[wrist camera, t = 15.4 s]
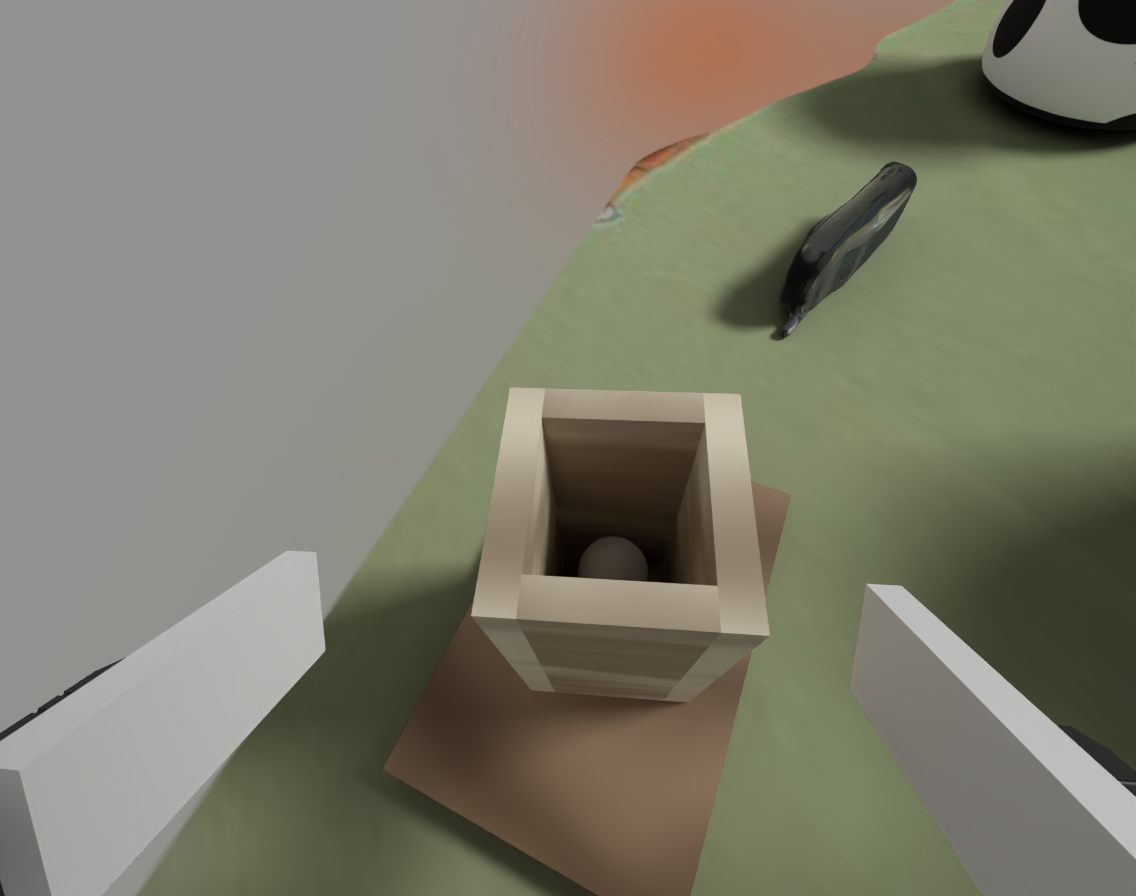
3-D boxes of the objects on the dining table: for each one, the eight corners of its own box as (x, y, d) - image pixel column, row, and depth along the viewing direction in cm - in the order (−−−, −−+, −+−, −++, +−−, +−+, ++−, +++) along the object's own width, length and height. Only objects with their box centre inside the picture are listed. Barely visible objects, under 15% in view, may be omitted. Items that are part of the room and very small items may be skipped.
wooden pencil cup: (546, 544, 25) (510, 387, 15) (682, 552, 24) (740, 394, 14) (531, 690, 22) (471, 615, 11) (688, 702, 21) (769, 635, 11)
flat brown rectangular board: (570, 434, 30) (561, 324, 23) (781, 507, 27) (850, 407, 20) (394, 769, 22) (289, 767, 14) (673, 930, 19) (721, 1033, 11)
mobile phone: (887, 150, 36) (775, 259, 30) (932, 165, 34) (824, 281, 29) (856, 217, 40) (753, 324, 34) (895, 232, 39) (795, 345, 33)
